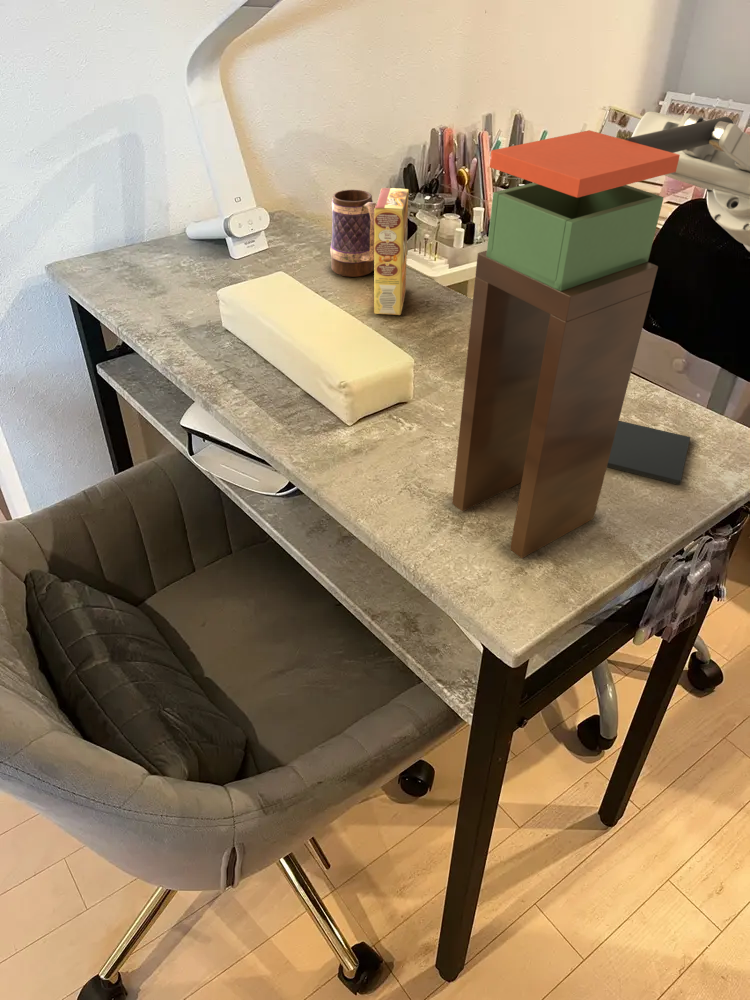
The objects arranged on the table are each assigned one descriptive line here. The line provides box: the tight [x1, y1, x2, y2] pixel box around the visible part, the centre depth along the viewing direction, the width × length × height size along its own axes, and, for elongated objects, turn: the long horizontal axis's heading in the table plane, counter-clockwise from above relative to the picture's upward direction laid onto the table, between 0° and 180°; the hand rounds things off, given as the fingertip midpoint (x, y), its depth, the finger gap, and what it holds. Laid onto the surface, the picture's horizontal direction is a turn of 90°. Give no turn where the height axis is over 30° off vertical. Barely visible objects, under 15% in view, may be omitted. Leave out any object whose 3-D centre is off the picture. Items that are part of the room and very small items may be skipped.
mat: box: [607, 420, 691, 486], centre depth 85 cm, size 10×9×1 cm
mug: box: [330, 189, 377, 278], centre depth 119 cm, size 10×7×12 cm
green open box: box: [486, 182, 664, 291], centre depth 59 cm, size 10×8×5 cm
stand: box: [451, 250, 659, 559], centre depth 69 cm, size 10×10×26 cm
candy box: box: [373, 187, 410, 316], centre depth 110 cm, size 9×4×15 cm, turn 174°
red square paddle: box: [489, 116, 735, 198], centre depth 59 cm, size 23×9×2 cm, turn 126°
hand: (703, 127), depth 62 cm, fingers closed on red square paddle, 2 cm apart
